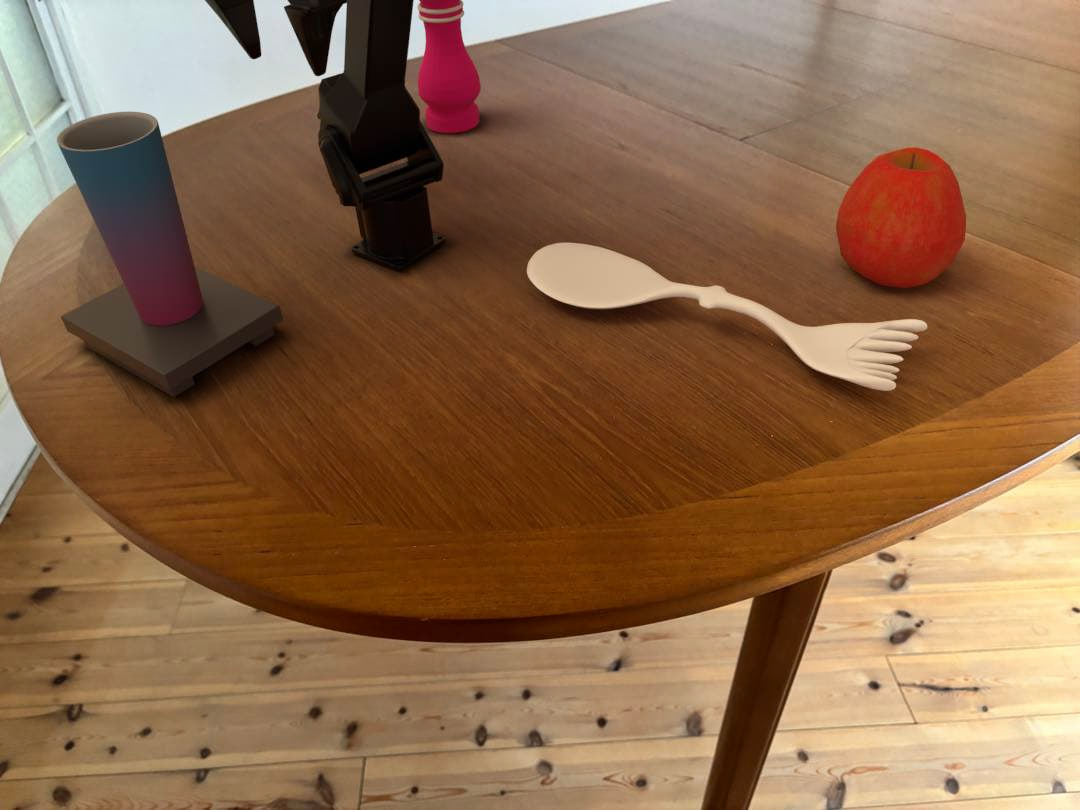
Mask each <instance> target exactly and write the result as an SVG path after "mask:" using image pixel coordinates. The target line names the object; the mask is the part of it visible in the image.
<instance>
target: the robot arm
mask: <svg viewBox="0 0 1080 810" xmlns="http://www.w3.org/2000/svg"><path fill="white" fill-rule="evenodd" d="M204 1H205V3H206V4H207V5H208V6H209V7H210V9H211V10H212V11H213V12H214V13H215V14H216V15H217V17H218V18H219V19H220V21H221V22H222V23H223V25H224V26H225V28H227V29H228V31H229V32H230V34H231V35H232V36H233V37H234V39H235V40H236V41H237V43H238V44H239V45H240V47H241V48H242V49H243V50H244V52H245V53H246V55H247V56H248V57H249V58H250V59H251V60H257V59H260V58H261V57H262V46H261V45H262V44H261V37H260V32H259V31H260V30H259V25H258V19H257V13H256V7H255V0H204ZM287 2H288V3H289V4H288V5H285V6H283V9H284V11H285V15H286V16H287V19H288V21H289V23H290V26H291V28H292V29H293V33H294V35H295V36H296V39H297V41H298V43H299V45H300V48H301V50H302V52H303V54H304V57H305V59H306V61H307V63H308V65H309V67H310V69H311V71H312V73H313V75H314V76H315V77H321V76H323V75H326V72H327V67H328V61H329V54H330V47H331V41H332V34H333V28H334V25H335V21H336V17H337V14H338V13H339V11H340V9H341V8H342V7H343V5H344V4H346V10H345V11H346V12H345V14H346V15H345V34H344V35H345V38H344V63H343V64H344V65H343V72H341V73H337V74H335V75H331V76H327V77H324V78H321V80H320V83H319V86H318V100H319V103H318V104H319V105H318V107H319V108H318V112H317V114H316V118H317V119H318V120H320V121H319V129H318V133H317V139H318V142H317V145H318V148H319V153H320V155H321V156H322V159H323V162H324V165H325V167H326V170H327V173H328V176H329V179H330V182H331V185H332V187H333V189H334V190H335V194H336V195H337V196H338V198H339V202H340V205H342V206H343V207H352V208H355V213H356V218H357V224H358V229H359V235H360V238H362V240H361V241H359V242H357V243H355V244H353V245H352V246H351V253H352V254H353V255H356V256H359V257H362V258H364V259H366V260H369V261H371V262H374V263H377V264H380V265H382V266H385V267H386V268H389V269H392V270H395V271H403V270H405V269H407V268H409V267H411V266H412V265H414V264H415V263H416V262H418V261H420V260H421V259H422V258H424V257H426V256H427V255H429V254H431V253H432V252H434V251H435V250H437V249H438V248H439V247H441V246H443V245H444V244H446V243H447V239H446V236H445V235H442V234H439V233H436V232H433V226H432V217H431V210H430V203H429V195H428V190H427V187H425V186H428V185H431V184H434V183H439V182H441V181H443V174H444V168H445V167H444V166H445V164H444V161H443V159H442V157H441V155H440V154H439V152H438V150H437V147H436V146H435V145H434V142H433V141H432V139H431V137H430V136H429V133H428V132H427V130H426V128H425V126H424V125H423V123H422V121H421V110H420V109H421V108H420V107H419V106H418V104H417V103H416V101H415V100H414V98H413V96H412V95H411V93H410V92H409V90H408V89H407V88H406V87H407V86H406V75H407V67H408V66H407V65H408V55H409V46H410V37H411V28H412V21H413V20H412V19H413V9H414V2H415V1H414V0H287ZM403 159H407V160H406V161H403V162H401V163H398V164H396V165H393V166H390V167H387V168H384V169H382V170H379V171H376V172H374V173H371V174H368V175H365V176H363V177H361V176H360V175H363V174H365V173H367V172H371V171H373V170H375V169H379V168H382V167H384V166H387V165H389V164H393V163H395V162H398V161H401V160H403Z"/></svg>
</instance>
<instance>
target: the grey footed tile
mask: <svg viewBox="0 0 1080 810" xmlns="http://www.w3.org/2000/svg"><path fill="white" fill-rule="evenodd" d="M195 270H196V274H197V278H198V282H199V286H200V290H201V294H202V298H203V305H202V307H201V309H200V310H199V311H198V312H197V313H196V314H195V315H193V316H192V317H190V318H188V319H186V320H184V321H182V322H179V323H175V324H171V325H151V324H147V323H145V322H143V321H142V320H141V319H140V317H139V314H138V312H137V310H136V308H135V306H134V304H133V302H132V300H131V298H130V295H129V293H128V291H127V289H126V287H125V285H124V283H122V284H120V285H118V286H116V287H114V288H113V289H111V290H109V291H106V292H105V293H103V294H100V295H99V296H97V297H95V298H93V299H91V300H89V301H87V302H85V303H83V304H82V305H80V306H77V307H76V308H74V309H72V310H70V311H67V312H66V313H64V314H62V315H60V318H61V321H62V322H63V325H64V327H65V329H66V332H68V333H69V334H72V335H73V336H75V337H77V338H78V339H81V340H82V341H83V342H84V345H85V347H86V348H87V349H89V350H91V351H93V352H94V353H96V354H98V355H99V356H101V357H103V358H105V359H107V360H108V361H110V362H112V363H114V364H115V365H117V366H119V367H120V368H122V369H124V370H126V371H127V372H129V373H131V374H132V375H134V376H136V377H138V378H140V379H141V380H143V381H145V382H146V383H148V384H150V385H151V386H153V387H155V388H157V389H159V390H160V391H162V392H164V393H166V394H167V395H169V396H171V397H173V398H176V397H177V396H179V395H180V394H183V392H185V391H187V390H188V389H190V388H192V387H194V386H195V385H196V383H195V381H194V378H193V377H194V376H196V375H198V374H200V373H201V372H203V371H204V370H206V369H207V368H209V367H210V366H212V365H214V364H215V363H217V362H219V361H220V360H222V359H224V358H225V357H226V356H228V355H229V354H231V353H233V352H234V351H237V350H238V349H239V348H241V347H243V346H244V345H246V344H247V343H249V344H251V345H252V346H253V345H254V346H258V345H261V344H262V343H264V342H265V341H266V340H268V339H270V338H272V336H274V335H275V330H274V327H275V326H276V325H278V324H280V323H281V322H283V321H284V318H283V314H282V310H281V307H280V304H278V303H276V302H273V301H271V300H269V299H267V298H264V297H262V296H260V295H259V294H256V293H253V292H251V291H249V290H247V289H245V288H243V287H241V286H238V285H236V284H233V283H232V282H229V281H228V280H225V279H223V278H221V277H218V276H216V275H214V274H212V273H210V272H207V271H206V270H203V269H201V268H199V267H196V266H195Z"/></svg>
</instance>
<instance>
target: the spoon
mask: <svg viewBox="0 0 1080 810" xmlns="http://www.w3.org/2000/svg"><path fill="white" fill-rule="evenodd" d="M526 274H527V277H528V279H529V281H530V282H531V283H532V285H534V287H536V288H537V289H538V290H539V291H540V292H542V293H543V294H544V295H546V296H548V297H550V298H552V299H554V300H555V301H558V302H561V303H563V304H566V305H569V306H571V307H572V306H573V307H577V308H581V309H582V308H583V309H590V310H591V309H592V310H611V309H619V308H620V309H621V308H625V307H630V306H636V305H641V304H644V303H649V302H653V301H657V300H661V299H663V300H664V299H668V298H669V299H670V298H688V299H693V300H695V301H698V305H699V307H701V308H702V309H706V310H713V309H723V310H727V311H732V312H736V313H740V314H743V315H745V316H748V317H750V318H752V319H755V320H756V321H758V322H760V323H761V324H763V325H764V326H766V327H767V328H768V329H769V330H771V331H772V332H773V333H775V334H776V335H777V336H778V338H780V339H781V340H782V341H783V342H784V343H785V344H786V345H787V346H788V347H789V348H790V349H791V351H792V352H793V353H794V354H795V355H796V356H797V358H799V359H800V361H802V362H803V363H804V364H805V365H806V366H808V367H809V368H811V370H815V371H816V372H819V373H821V374H824V375H827V376H830V377H832V378H837V379H841V380H844V381H846V382H847V381H848V382H850V383H853V384H856V385H858V386H861V387H865V388H868V389H871V390H877V391H885V392H888V391H893V390H895V389H896V387H897V383H896V382H895V380H896V379H898V377H897V375H895V374H896V373H899V372H900V368H898V367H897V366H893V364H898V363H901V362H902V361H904V358H903V357H902V356H901V355H898V354H894V353H895V352H896V353H898V352H904V351H908V350H911V349H912V348H913V346H912V345H911V344H909V343H907V342H913V341H916V340H918V339H919V335H917V334H915V333H916V332H917V333H919V332H924V331H926V330H927V329H928V323H927V322H926V321H924V320H921V319H915V318H908V319H907V318H906V319H894V320H887V321H876V322H845V323H844V322H841V323H833V324H827V325H818V326H807V325H801V324H797V323H795V322H792V321H790V320H789V319H787V318H785V317H783V316H782V315H780V314H779V313H777V312H775V311H774V310H772V309H770V308H769V307H766V306H765V305H763V304H761V303H759V302H756V301H754V300H752V299H748V298H745V297H741V296H738V295H736V294H734V293H733V294H732V293H730V292H728V291H727V290H726V288H725V287H723V286H722V285H721V286H720V285H712V286H698V285H692V284H687V283H680V282H674V281H671V280H668V279H667V278H666V277H664V276H662V275H661V274H660V273H658V272H657V271H656V270H654V269H653V268H651V267H650V266H649V265H647V264H646V263H644V262H641V261H640V260H637V259H634V258H632V257H631V256H626V255H624V254H622V253H619V252H617V251H613V250H611V249H609V248H608V249H607V248H604V247H601V246H596V245H593V244H592V245H591V244H586V243H580V242H579V243H577V242H556V243H551V244H549V245H545V246H543V247H542V248H540V249H538V250H537V251H535V253H533V255H532V256H531V257H530V259H529V260H528V262H527V267H526Z"/></svg>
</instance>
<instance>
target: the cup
mask: <svg viewBox="0 0 1080 810" xmlns="http://www.w3.org/2000/svg"><path fill="white" fill-rule="evenodd" d="M56 143H57V145H58V148H59V150H60V152H61V154H62V156H63V158H64V160H65V162H66V164H67V166H68V168H69V171H70V172H71V175H72V177H73V179H74V181H75V183H76V186H77V188H78V189H79V191H80V194H81V197H82V198H83V200H84V202H85V205H86V207H87V208H88V211H89V213H90V215H91V218H92V220H93V222H94V224H95V225H96V229H97V230H98V232H99V235H100V236H101V238H102V241H103V242H104V245H105V247H106V249H107V251H108V253H109V255H110V257H111V259H112V261H113V264H114V266H115V268H116V270H117V272H118V274H119V276H120V278H121V281H122V284H124V285H125V287H126V289H127V291H128V293H129V295H130V298H131V300H132V302H133V304H134V306H135V308H136V310H137V312H138V314H139V317H140V319H141V320H142V321H143V322H145V323H147V324H151V325H171V324H175V323H179V322H182V321H184V320H186V319H188V318H190V317H192V316H193V315H195V314H196V313H197V312H198V311H199V310H200V309H201V307H202V305H203V298H202V294H201V290H200V286H199V282H198V278H197V274H196V270H195V267H196V266H195V263H194V259H193V255H192V250H191V246H190V242H189V239H188V236H187V235H188V234H187V230H186V228H185V223H184V220H183V215H182V212H181V207H180V204H179V199H178V195H177V191H176V188H175V184H174V180H173V176H172V171H171V167H170V163H169V159H168V156H167V152H166V149H165V144H164V140H163V136H162V132H161V129H160V124H159V121H158V119H157V118H156V117H155V116H153V115H152V114H150V113H146V112H141V111H115V112H108V113H102V114H98V115H94V116H91V117H88V118H85V119H82V120H79V121H77V122H74V123H73V124H70V125H68V126H67V127H66V128H64V129H63V130H62V131H61V132H60V133H59V134H58V135H57V137H56Z"/></svg>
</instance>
